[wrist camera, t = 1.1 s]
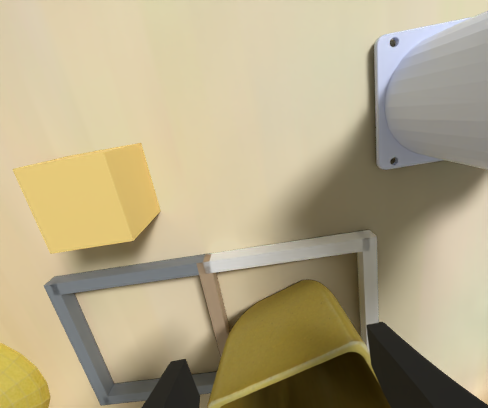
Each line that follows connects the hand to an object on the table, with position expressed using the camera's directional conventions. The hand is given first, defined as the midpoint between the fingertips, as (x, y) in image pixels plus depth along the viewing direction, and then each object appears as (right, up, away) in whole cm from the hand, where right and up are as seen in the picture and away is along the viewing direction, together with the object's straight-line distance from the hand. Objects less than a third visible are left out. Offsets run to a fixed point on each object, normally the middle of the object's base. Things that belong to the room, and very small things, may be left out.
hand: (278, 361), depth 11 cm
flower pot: (+3, -3, +12) cm, 13 cm away
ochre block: (-10, +8, +9) cm, 16 cm away
